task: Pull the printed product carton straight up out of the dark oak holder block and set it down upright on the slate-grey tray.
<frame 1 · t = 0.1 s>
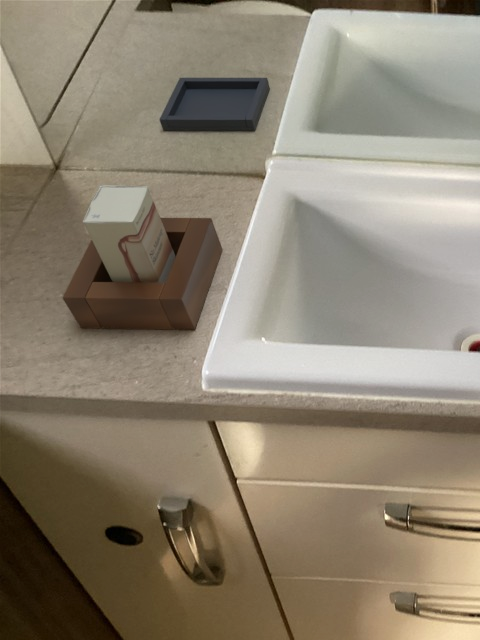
printed product carton: (155, 288, 74), resting in holder
tray: (218, 109, 93), on the countertop
holder: (154, 287, 74), on the countertop
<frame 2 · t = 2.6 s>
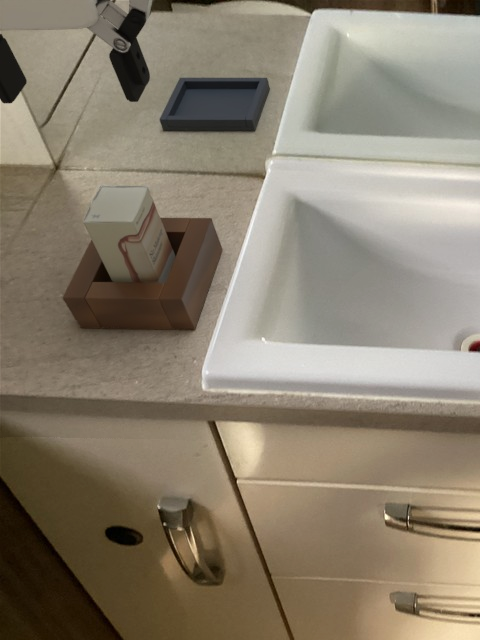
hand: (77, 92, 61), 19 cm above the countertop, tool pointing down, fingers open, 9 cm apart
nothing on the countertop moved.
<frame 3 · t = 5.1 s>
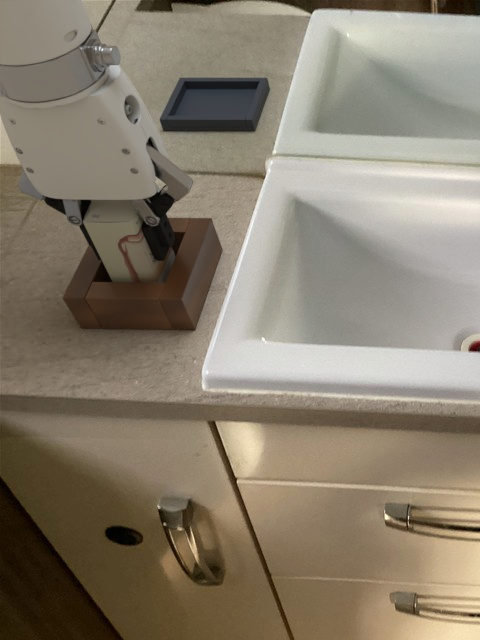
hand: (136, 248, 70), 5 cm above the countertop, tool pointing down, fingers closed on printed product carton, 4 cm apart
printed product carton: (155, 288, 74), resting in holder, touching gripper
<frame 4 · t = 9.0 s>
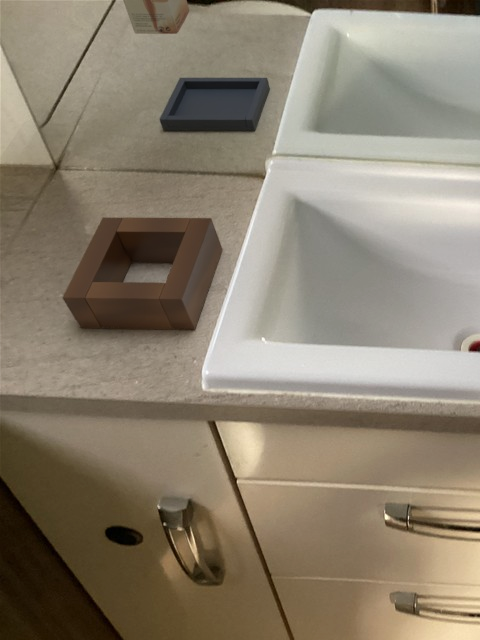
printed product carton: (164, 23, 78), point 14 cm above the countertop, touching gripper
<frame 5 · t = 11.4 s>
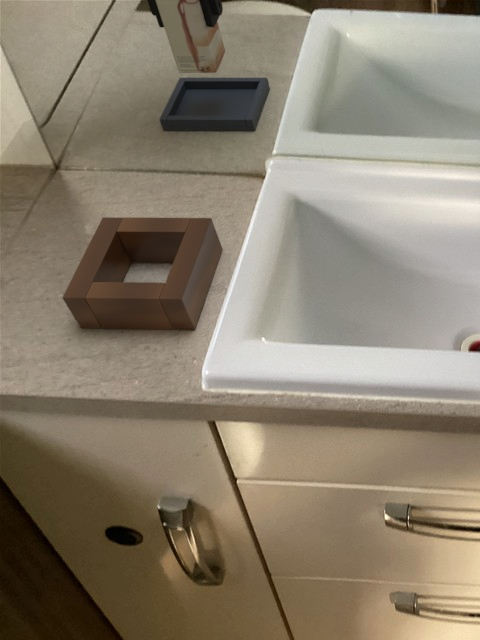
hand: (190, 19, 84), 11 cm above the countertop, tool pointing down, fingers closed on printed product carton, 4 cm apart
printed product carton: (204, 63, 88), point 6 cm above the countertop, touching gripper
when the fingers open (5 cm above the countertop, at t = 13.1 s): printed product carton stays where it is, resting on tray.
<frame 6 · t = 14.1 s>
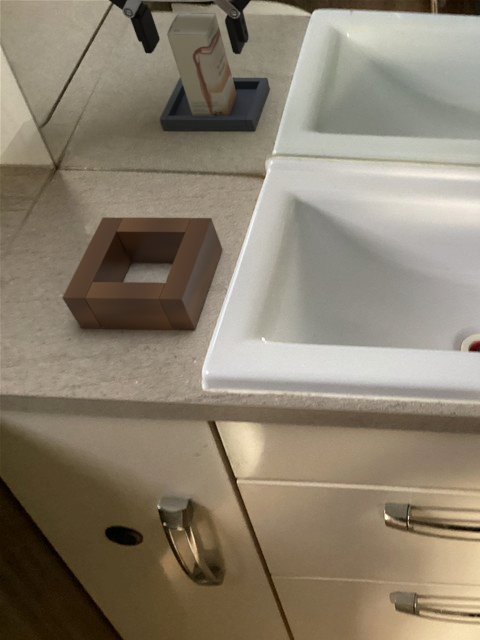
hand: (196, 47, 87), 8 cm above the countertop, tool pointing down, fingers open, 9 cm apart
printed product carton: (216, 106, 92), resting on tray
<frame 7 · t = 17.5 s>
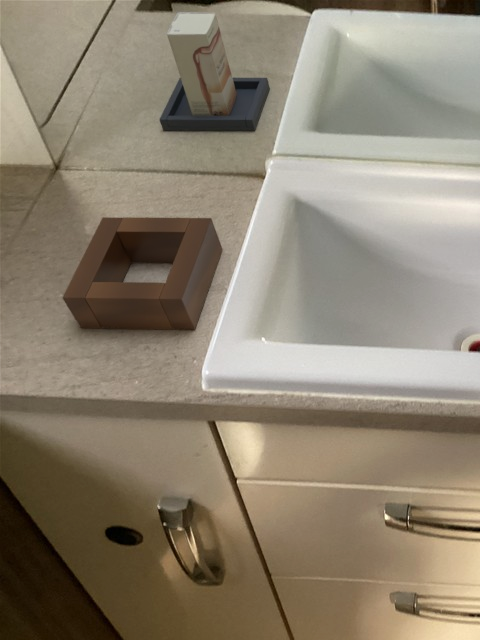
nothing on the countertop moved.
at the end: printed product carton inside the target area on the tray (0.1 cm from its centre), point 0.3 cm above the tray's base; printed product carton tilted 0°; printed product carton moved 29.0 cm from its start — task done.
